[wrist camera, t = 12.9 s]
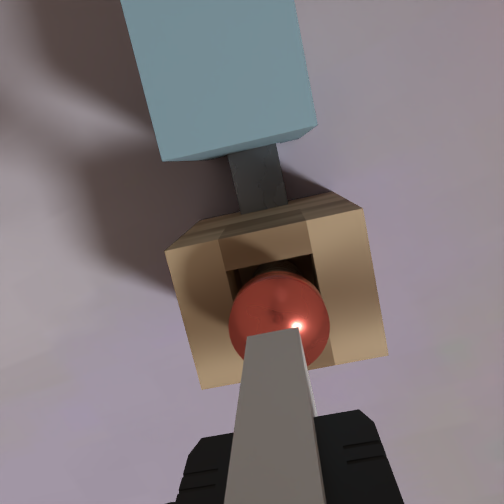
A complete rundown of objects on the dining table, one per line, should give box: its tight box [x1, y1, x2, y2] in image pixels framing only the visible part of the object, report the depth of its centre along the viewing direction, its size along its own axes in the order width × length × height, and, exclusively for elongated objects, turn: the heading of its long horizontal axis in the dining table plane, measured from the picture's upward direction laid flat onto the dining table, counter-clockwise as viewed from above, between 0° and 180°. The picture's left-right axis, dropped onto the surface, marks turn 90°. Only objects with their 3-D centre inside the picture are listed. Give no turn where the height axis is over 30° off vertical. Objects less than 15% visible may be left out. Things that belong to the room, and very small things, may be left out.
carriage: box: [120, 0, 317, 161], centre depth 22 cm, size 6×6×12 cm
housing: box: [164, 192, 388, 390], centre depth 25 cm, size 7×9×10 cm
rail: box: [227, 143, 288, 215], centre depth 26 cm, size 24×3×2 cm, turn 13°
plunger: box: [228, 259, 330, 366], centre depth 20 cm, size 4×4×6 cm
